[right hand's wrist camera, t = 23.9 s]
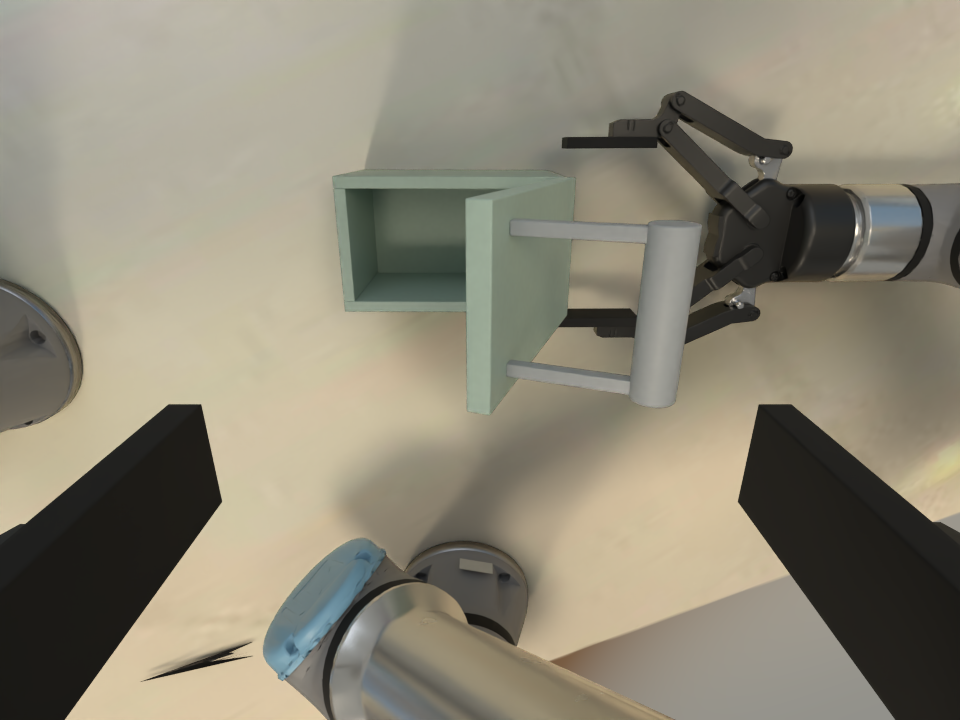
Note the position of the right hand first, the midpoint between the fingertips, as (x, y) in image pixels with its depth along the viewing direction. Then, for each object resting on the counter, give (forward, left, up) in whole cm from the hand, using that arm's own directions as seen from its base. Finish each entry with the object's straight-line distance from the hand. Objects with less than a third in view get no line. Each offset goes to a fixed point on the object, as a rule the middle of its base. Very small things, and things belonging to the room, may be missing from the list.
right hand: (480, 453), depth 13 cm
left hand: (+3, -6, -32) cm, 33 cm away
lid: (+1, -2, -20) cm, 20 cm away
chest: (-1, +2, -39) cm, 39 cm away
